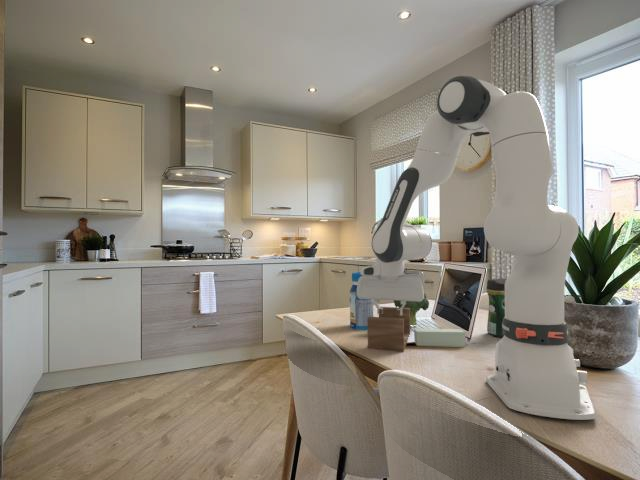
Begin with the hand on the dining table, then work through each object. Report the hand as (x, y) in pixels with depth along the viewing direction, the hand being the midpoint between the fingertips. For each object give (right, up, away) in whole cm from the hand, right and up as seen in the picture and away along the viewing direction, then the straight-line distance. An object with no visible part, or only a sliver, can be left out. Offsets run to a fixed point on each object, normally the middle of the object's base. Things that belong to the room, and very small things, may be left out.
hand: (389, 314), depth 116 cm
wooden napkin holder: (0, -8, 0) cm, 8 cm away
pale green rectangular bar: (+14, -9, -3) cm, 17 cm away
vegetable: (+11, -9, +19) cm, 24 cm away
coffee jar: (+39, -9, +8) cm, 40 cm away
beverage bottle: (-7, -9, +17) cm, 20 cm away
